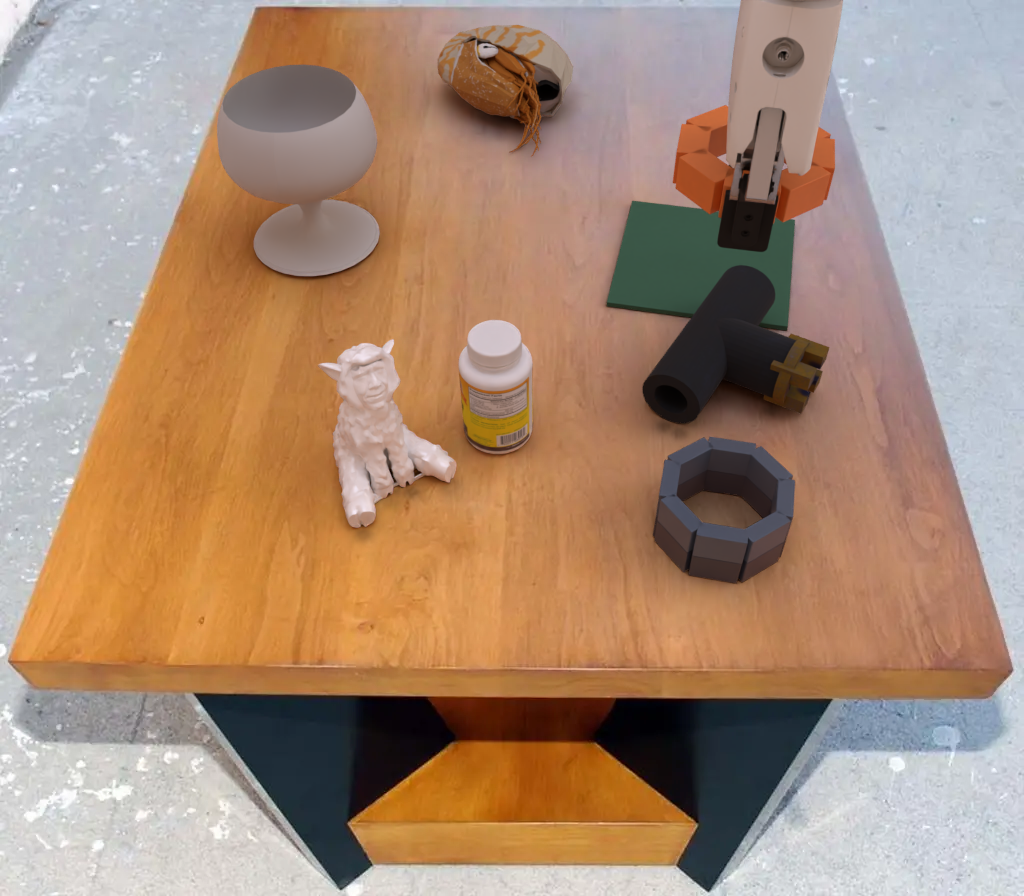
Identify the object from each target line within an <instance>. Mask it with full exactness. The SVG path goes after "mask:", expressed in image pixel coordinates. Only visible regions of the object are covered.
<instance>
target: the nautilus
mask: <svg viewBox="0 0 1024 896" xmlns="http://www.w3.org/2000/svg"><path fill="white" fill-rule="evenodd" d="M436 64H437V74H438V76H439V77H440V78H441V80H442V81H443V82H444V84H446V85H448V86H449V87H451V88H452V89H453V90H454V91H455V92H456V93H457V94H458V96H460V98H461V99H463V100H464V101H465V102H466V103H468V104H469V105H470V106H471V107H474V109H477V110H480V111H481V112H483V113H485V114H487V115H490V116H500V117H510V118H511V119H515V120H518V121H519V124H524V128H523V129H524V130H523V133H522V137H521V140H520V142H519V144H518V145H517V146H516V148H514V149H513V150H511V151H509V152H508V153H510V154H511V153H513V152H515V151H517V150H519V149H520V148H521V147H523V145H527V144H528V143H529V142H530V140H532V141H533V142H534V144H535V147H534V150H533V153H532V154H531V155H530V157H531V158H532V157H533V156H534V155H535V153H536V152H537V151H538V152H539V151H540V147H539V145H538V144H539V143H540V144H542V141H541V139H540V130H542V128H541V125H540V122H541V120H542V117H544V118H545V117H546V118H547V117H548V118H553V117H554V116H555V114H556V113H557V112H558V110H559V108H560V107H561V106H562V104H563V100H564V96H565V93H566V90H567V88H568V86H569V85H570V84H571V82H572V79H573V73H574V65H573V63H572V61H571V59H570V57H569V54H568V53H567V52H566V51H565V50H564V49H563V47H562V46H561V45H560V44H559V43H558V41H556V40H554V39H553V38H552V37H551V36H550V35H549V34H547V33H545V32H543V31H542V30H540V29H537V28H532V27H528V26H525V25H521V24H508V25H507V24H506V25H505V24H504V25H503V24H501V25H499V24H498V25H497V24H496V25H486V26H480V27H476V28H472V29H470V30H469V29H468V30H464V31H460V32H458V33H456V35H454V36H453V37H452V38H451V39H449V40H448V41H446V43H445V44H444V46H443V48H442V49H441V51H440V53H439V55H438V58H437V63H436ZM539 129H540V130H539ZM528 132H529V135H528V136H527V134H528ZM534 135H535V136H536V139H535V138H534Z"/></svg>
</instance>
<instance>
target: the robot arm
mask: <svg viewBox="0 0 1024 896" xmlns="http://www.w3.org/2000/svg"><path fill="white" fill-rule="evenodd" d="M843 6H844V0H740V4H739V10H738V15H737V22H736V31H735V36H734V44H733V50H732V51H733V52H732V59H731V67H730V68H731V69H730V78H729V79H730V81H729V90H728V91H729V92H728V102H727V103H728V104H727V106H728V122H727V146H726V154H725V161H726V162H727V163H728V164H727V165H729V166H730V167H731V168H733V169H734V172H733V178H732V184H731V190H726V193H725V199H724V205H723V210H722V216H721V222H720V228H719V233H718V240H717V244H718V246H719V247H722V248H730V249H738V250H747V251H756V252H764V251H766V250H767V248H768V244H769V240H770V235H771V231H772V226H773V222H774V217H775V213H776V208H777V204H778V196H779V195H777V191H778V186H779V182H780V177H781V172H782V170H783V167H784V165H786V164H787V165H786V168H788V171H789V173H796V174H798V176H802V175H804V174H805V173H807V172H808V171H809V170H810V168H811V163H812V157H813V152H814V147H815V142H816V137H817V132H818V128H819V127H820V122H821V119H822V114H823V108H824V105H825V104H824V103H825V99H826V94H827V90H828V87H829V82H830V76H831V71H832V67H833V63H834V62H833V61H834V57H835V51H836V47H837V42H838V35H839V30H840V25H841V19H842V18H841V17H842V12H843ZM784 159H785V160H786V164H785V163H784ZM743 170H746V171H749V174H746V173H744V175H743ZM742 175H743V176H742Z"/></svg>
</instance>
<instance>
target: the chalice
mask: <svg viewBox="0 0 1024 896" xmlns="http://www.w3.org/2000/svg"><path fill="white" fill-rule="evenodd" d="M216 122H217V123H216V137H217V148H218V156H219V160H220V162H221V165H222V167H223V169H224V171H225V173H226V174H227V176H228V177H229V178H230V180H231V181H233V183H234V184H236V186H237V187H239V188H240V189H242V191H243V190H244V192H246V193H248V194H249V195H251V196H253V197H254V198H258V199H261V200H264V201H268V202H273V203H277V204H282V205H289V206H287V207H283V208H282V209H280V210H278V211H276V212H274V213H273V214H271V215H270V216H269V217H268V218H267V219H266V220H264V221H263V222H262V224H260V226H259V227H258V229H257V230H256V231H255V235H254V238H253V249H254V252H255V254H256V257H257V258H258V259H259V260H260V261H261V262H262V264H264V265H265V266H266V267H268V268H270V269H271V270H274V271H276V272H279V273H282V274H285V275H291V276H295V277H317V276H325V275H331V274H333V273H338V272H341V271H344V270H347V269H348V268H351V267H353V266H356V265H357V264H358V263H360V262H361V261H363V260H364V259H366V258H367V257H368V256H369V255H370V254H371V253H372V252H373V251H374V249H375V248H376V246H377V244H378V243H379V238H380V234H381V232H380V225H379V224H378V222H377V219H376V218H375V216H373V215H372V214H371V212H369V211H368V210H366V209H364V208H363V207H361V206H359V205H357V204H354V203H351V202H348V201H344V200H337V199H330V198H334V197H336V196H338V195H340V194H342V193H343V192H345V191H347V190H348V189H351V188H352V187H354V186H355V185H356V184H357V183H358V182H360V180H362V179H363V178H364V176H365V175H366V174H367V172H368V171H369V169H370V168H371V166H372V164H373V163H374V160H375V157H376V154H377V149H378V133H377V129H376V125H375V122H374V119H373V114H372V112H371V110H370V107H369V105H368V103H367V101H366V98H365V96H364V95H363V94H362V92H361V91H360V89H359V88H358V86H357V85H356V84H355V83H354V82H353V80H352V79H350V77H349V76H347V75H345V74H343V73H342V72H340V71H338V70H336V69H333V68H330V67H326V66H321V65H315V64H287V65H279V66H274V67H273V66H272V67H270V68H266V69H262V70H258V71H257V72H254V73H251V74H249V75H247V76H245V77H243V78H242V79H240V80H238V81H237V82H236V83H235V84H233V85H232V86H231V87H230V88H229V89H228V90H227V92H226V93H225V94H224V96H223V99H222V101H221V105H220V108H219V111H218V115H217V121H216Z"/></svg>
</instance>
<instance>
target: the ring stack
mask: <svg viewBox="0 0 1024 896" xmlns="http://www.w3.org/2000/svg"><path fill="white" fill-rule="evenodd" d="M793 477H794V475H793V474H792V473H791V472H790V471H789V470H788V469H787V468H786V467H785V466H783V465H782V464H781V463H780V461H778V460H777V459H776V458H775V457H773V456H772V454H771V453H770V452H768V451H767V450H766V449H765V448H764V447H763V446H762V445H759V446H758V447H757V444H756V442H750V441H749V442H748V441H743V440H736V439H729V438H723V437H717V436H709V437H708V439H707V438H706V437H702V438H699V439H698V440H696V441H694V442H692V443H690V444H688V445H686V446H683V447H682V448H680V449H678V450H677V451H674V452H673V453H671V454H669V455H667V458H666V459H664V461H663V467H662V473H661V480H660V486H659V492H658V498H657V505H656V511H655V516H654V524H653V531H652V537H654V542H655V543H656V544H657V546H659V547H660V549H661V550H662V551H663V552H664V553H665V554H666V555H667V556H668V558H669V559H671V561H672V562H673V563H674V564H675V565H676V567H678V569H679V570H680V571H681V572H682V573H685V572H687V571H688V576H690V577H698V578H703V579H708V580H714V581H720V582H724V583H725V582H726V583H731V584H737V583H738V580H739V581H740V582H741V583H744V582H746V581H747V580H749V579H750V578H752V577H754V576H755V575H757V574H759V573H761V572H762V571H765V570H766V569H767V568H769V567H771V566H772V565H774V564H776V563H778V562H779V559H780V558H781V557H782V555H783V551H784V548H785V545H786V542H787V539H788V535H789V533H790V529H791V525H792V523H793V520H794V516H795V515H794V514H795V512H794V511H795V495H796V494H795V491H796V480H795V479H793ZM703 491H707V492H713V493H718V494H725V495H731V496H738V497H741V498H742V499H743V500H744V501H745V502H746V503H747V504H748V505H749V506H750V507H751V508H752V509H754V511H755V512H756V513H758V514H759V516H760V517H761V519H759V520H758V521H756V522H755V523H753V524H751V525H749V526H748V527H746V528H740V527H734V526H727V525H722V524H716V523H709V522H704V521H701V519H700V518H699V517H698V516H697V515H696V514H695V513H694V512H693V510H691V509H690V507H688V506H687V505H686V504H685V503H684V501H686V500H688V499H689V498H691V497H694V496H695V495H697V494H699V493H702V492H703Z"/></svg>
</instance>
